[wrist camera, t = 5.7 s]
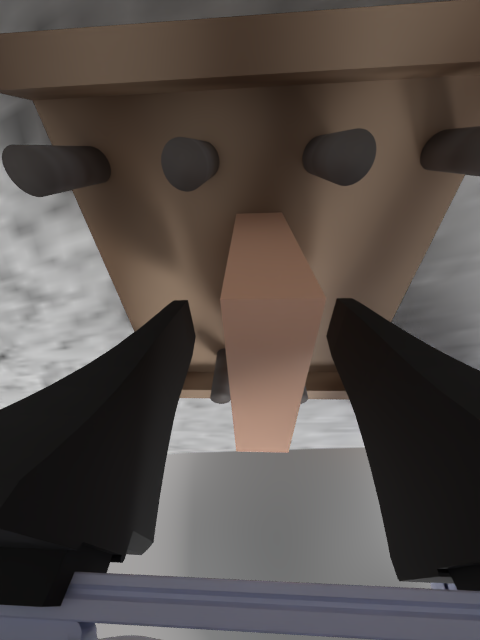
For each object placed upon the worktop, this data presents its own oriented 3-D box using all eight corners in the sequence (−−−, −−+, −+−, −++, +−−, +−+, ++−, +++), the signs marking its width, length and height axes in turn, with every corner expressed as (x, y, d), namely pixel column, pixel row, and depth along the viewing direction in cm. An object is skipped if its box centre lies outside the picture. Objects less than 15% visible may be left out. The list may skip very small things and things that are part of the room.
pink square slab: (281, 212, 10) (326, 298, 4) (272, 332, 14) (288, 452, 8) (236, 213, 10) (219, 299, 4) (241, 332, 14) (236, 451, 8)
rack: (505, 32, 7) (769, -87, 4) (355, 368, 18) (382, 425, 14) (39, 63, 8) (-137, -9, 4) (160, 368, 18) (139, 422, 15)
